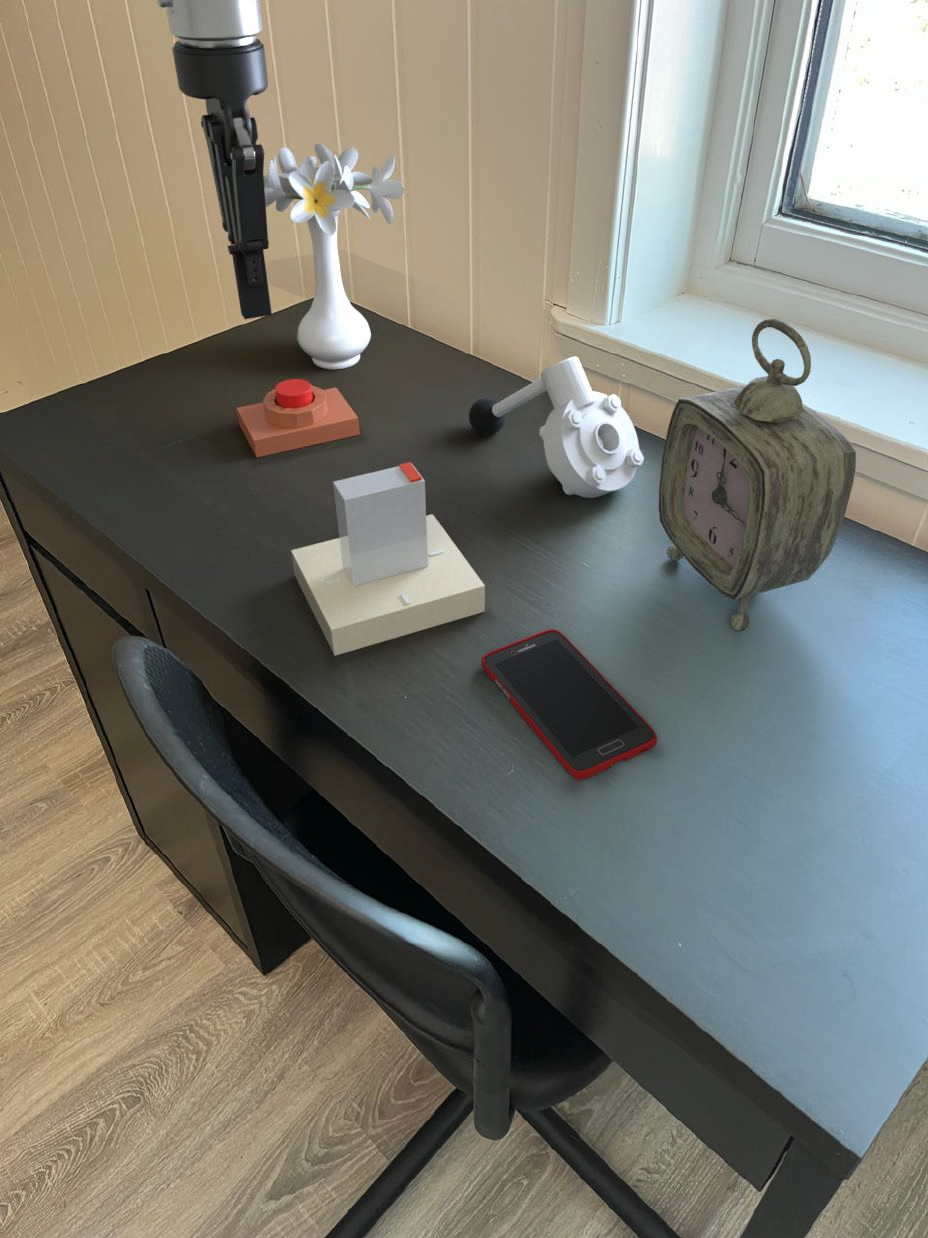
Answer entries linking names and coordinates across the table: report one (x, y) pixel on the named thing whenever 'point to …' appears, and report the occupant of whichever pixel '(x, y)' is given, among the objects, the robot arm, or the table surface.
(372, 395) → the table surface
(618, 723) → the cell phone
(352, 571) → the grey rectangular block
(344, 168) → the flower vase
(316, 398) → the button block
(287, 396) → the button
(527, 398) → the mechanical valve
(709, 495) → the tabletop clock
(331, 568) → the cream rectangular base
